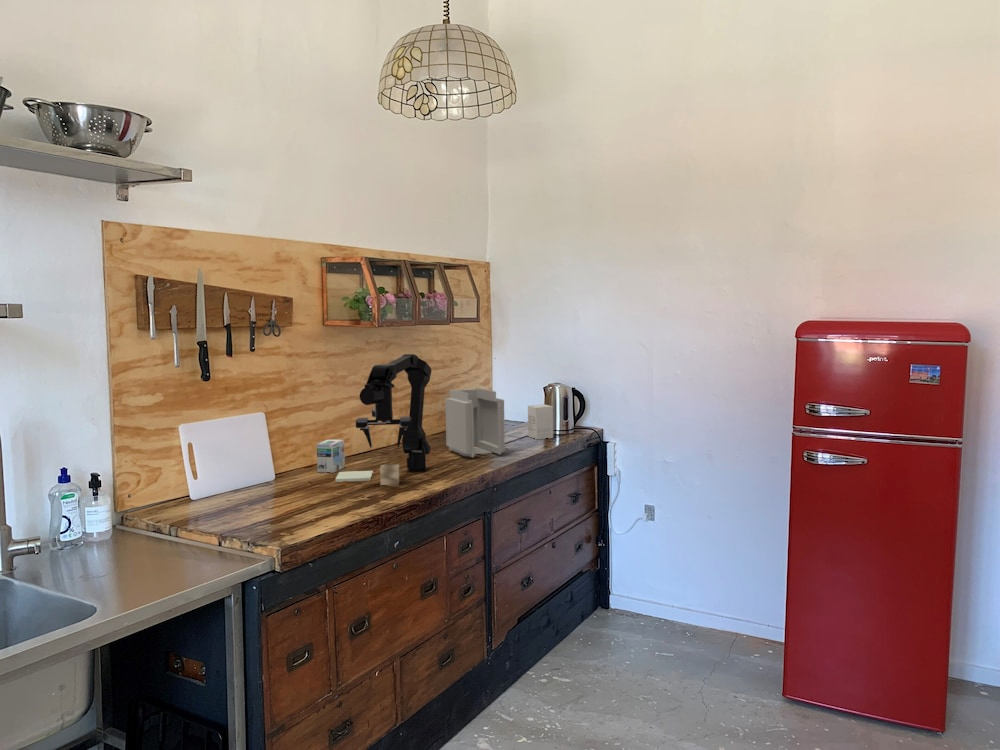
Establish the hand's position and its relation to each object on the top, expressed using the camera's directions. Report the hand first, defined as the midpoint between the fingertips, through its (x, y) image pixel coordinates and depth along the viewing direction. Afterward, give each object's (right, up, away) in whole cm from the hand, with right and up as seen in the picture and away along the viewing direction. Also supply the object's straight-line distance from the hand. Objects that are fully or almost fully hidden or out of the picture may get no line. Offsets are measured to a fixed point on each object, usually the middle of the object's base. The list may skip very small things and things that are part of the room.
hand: (384, 447), depth 251 cm
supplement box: (+58, -5, +89) cm, 107 cm away
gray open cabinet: (+29, -8, +52) cm, 60 cm away
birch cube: (+2, -12, 0) cm, 13 cm away
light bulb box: (-24, -11, +23) cm, 35 cm away
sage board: (-12, -12, +9) cm, 19 cm away
